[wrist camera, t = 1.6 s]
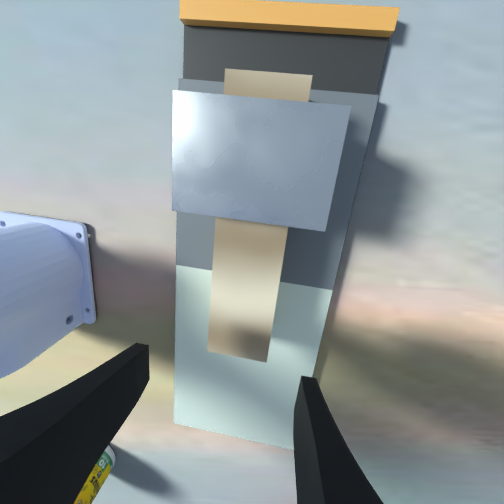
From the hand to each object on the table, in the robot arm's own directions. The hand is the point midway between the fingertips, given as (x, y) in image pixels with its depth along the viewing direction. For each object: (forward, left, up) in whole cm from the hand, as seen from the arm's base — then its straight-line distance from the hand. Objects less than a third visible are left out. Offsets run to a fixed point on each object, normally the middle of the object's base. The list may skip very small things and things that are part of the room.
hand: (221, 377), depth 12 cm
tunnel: (+9, 0, -9) cm, 13 cm away
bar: (+5, 0, -8) cm, 10 cm away
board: (+1, 0, -9) cm, 9 cm away
